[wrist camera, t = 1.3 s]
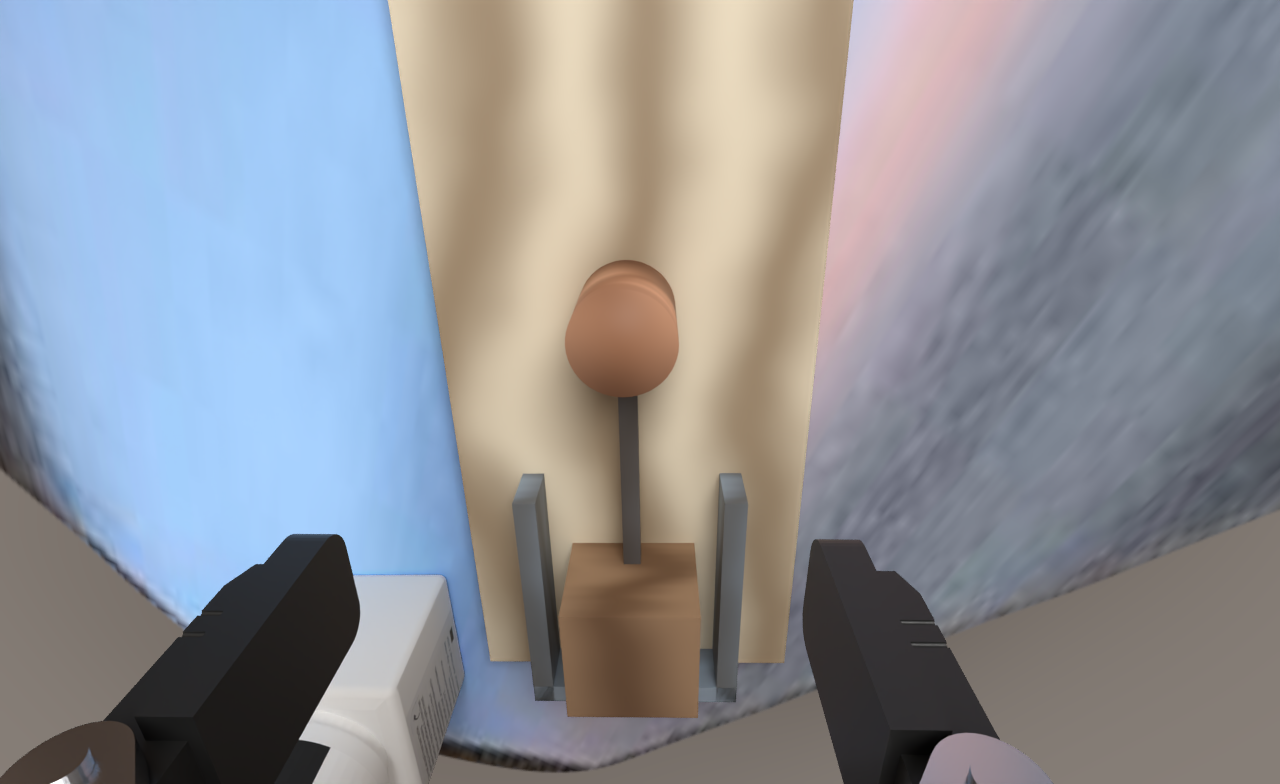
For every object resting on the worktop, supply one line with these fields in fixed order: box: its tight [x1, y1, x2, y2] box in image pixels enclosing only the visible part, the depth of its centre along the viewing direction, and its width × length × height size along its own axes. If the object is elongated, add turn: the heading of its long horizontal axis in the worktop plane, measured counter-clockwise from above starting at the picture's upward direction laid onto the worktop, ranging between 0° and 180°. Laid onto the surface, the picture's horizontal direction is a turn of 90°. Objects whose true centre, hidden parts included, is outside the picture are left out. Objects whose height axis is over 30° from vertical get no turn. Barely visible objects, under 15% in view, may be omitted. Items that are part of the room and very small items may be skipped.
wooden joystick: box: [559, 260, 701, 718], centre depth 27 cm, size 6×20×5 cm, turn 1°
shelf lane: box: [388, 0, 853, 702], centre depth 27 cm, size 16×36×4 cm, turn 1°
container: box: [274, 575, 464, 784], centre depth 30 cm, size 8×8×13 cm
